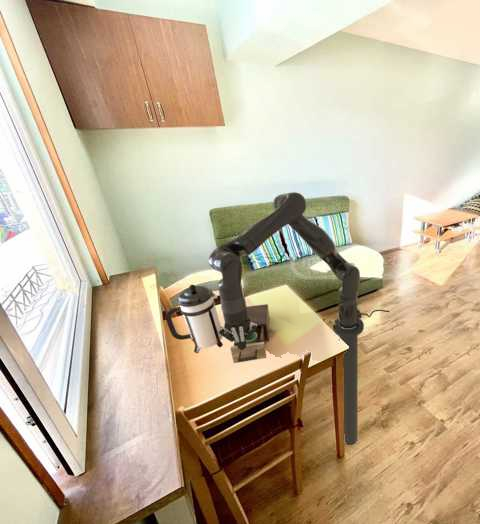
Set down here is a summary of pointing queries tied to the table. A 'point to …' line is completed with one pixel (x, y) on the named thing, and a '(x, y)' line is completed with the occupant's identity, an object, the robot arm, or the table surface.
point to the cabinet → (260, 317)
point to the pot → (252, 338)
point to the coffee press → (197, 317)
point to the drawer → (251, 348)
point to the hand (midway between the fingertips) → (242, 348)
